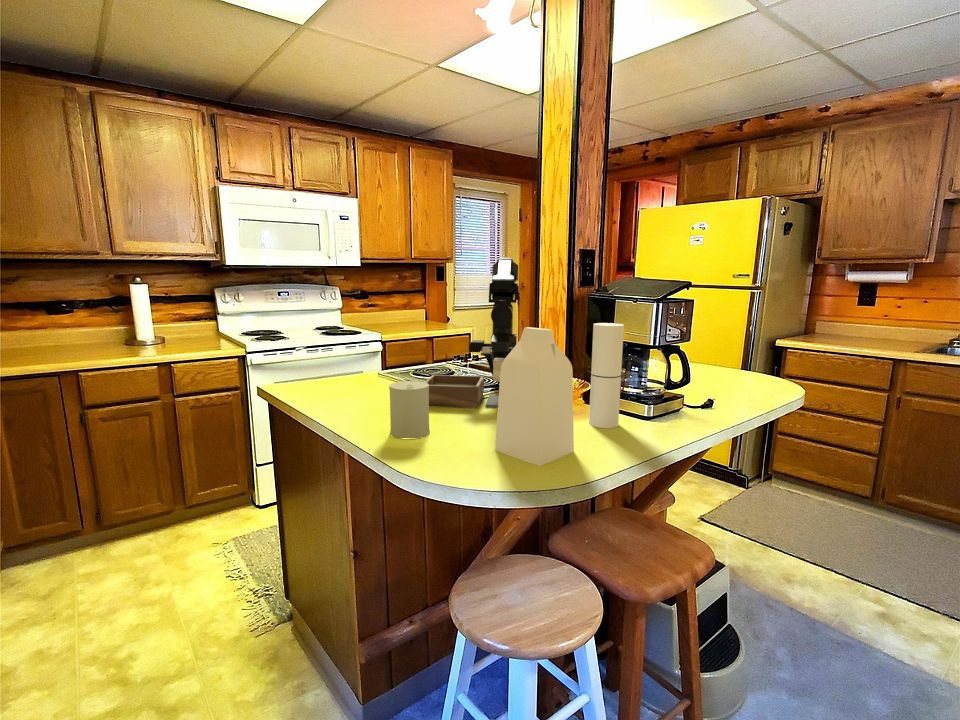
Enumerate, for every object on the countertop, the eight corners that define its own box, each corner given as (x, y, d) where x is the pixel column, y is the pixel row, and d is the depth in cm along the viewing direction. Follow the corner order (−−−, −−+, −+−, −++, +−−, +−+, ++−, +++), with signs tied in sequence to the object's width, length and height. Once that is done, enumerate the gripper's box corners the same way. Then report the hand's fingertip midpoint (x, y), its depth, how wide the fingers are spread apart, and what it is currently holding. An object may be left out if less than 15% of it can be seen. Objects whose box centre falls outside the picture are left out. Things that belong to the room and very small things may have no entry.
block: (494, 378, 146) (494, 357, 145) (510, 378, 146) (510, 358, 145) (493, 381, 142) (493, 360, 141) (509, 381, 141) (509, 361, 140)
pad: (489, 396, 151) (489, 394, 151) (516, 397, 150) (516, 395, 150) (485, 407, 139) (485, 404, 139) (514, 408, 138) (514, 405, 138)
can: (392, 441, 111) (390, 388, 109) (388, 428, 119) (387, 379, 117) (433, 437, 113) (432, 386, 111) (426, 426, 122) (425, 378, 120)
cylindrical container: (587, 426, 122) (592, 325, 118) (590, 418, 129) (594, 322, 125) (617, 429, 120) (623, 326, 116) (618, 421, 127) (624, 323, 123)
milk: (494, 450, 105) (496, 328, 101) (529, 438, 113) (532, 324, 109) (539, 466, 97) (543, 333, 92) (573, 451, 105) (578, 329, 100)
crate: (432, 393, 155) (432, 374, 154) (483, 395, 153) (483, 376, 152) (421, 406, 140) (421, 385, 139) (477, 408, 138) (477, 387, 137)
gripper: (465, 324, 134) (465, 381, 137) (535, 326, 132) (533, 383, 135) (471, 320, 145) (471, 373, 148) (535, 322, 143) (534, 375, 146)
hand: (501, 376), depth 144 cm, fingers closed on block, 5 cm apart
